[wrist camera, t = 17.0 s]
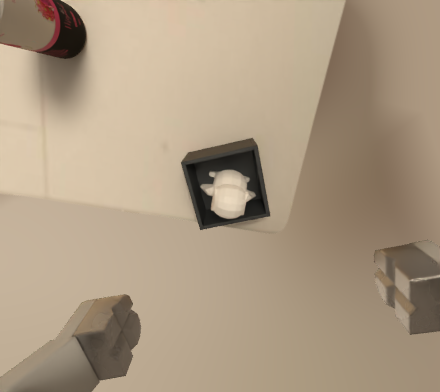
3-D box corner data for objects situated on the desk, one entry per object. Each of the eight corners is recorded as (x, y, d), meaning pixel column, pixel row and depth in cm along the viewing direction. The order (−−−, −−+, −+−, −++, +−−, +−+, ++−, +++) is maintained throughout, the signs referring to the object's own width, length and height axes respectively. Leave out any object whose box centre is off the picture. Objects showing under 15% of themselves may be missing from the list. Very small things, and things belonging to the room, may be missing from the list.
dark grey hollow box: (252, 137, 40) (257, 145, 34) (264, 199, 43) (270, 216, 37) (187, 152, 41) (180, 162, 35) (203, 211, 44) (200, 230, 38)
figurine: (201, 186, 42) (191, 218, 31) (205, 157, 40) (197, 180, 29) (251, 194, 42) (260, 229, 31) (258, 166, 41) (269, 192, 29)
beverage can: (90, 12, 35) (-3, -47, 21) (84, 65, 37) (-4, 45, 23) (39, -5, 34) (-92, -77, 20) (36, 50, 36) (-84, 20, 22)
